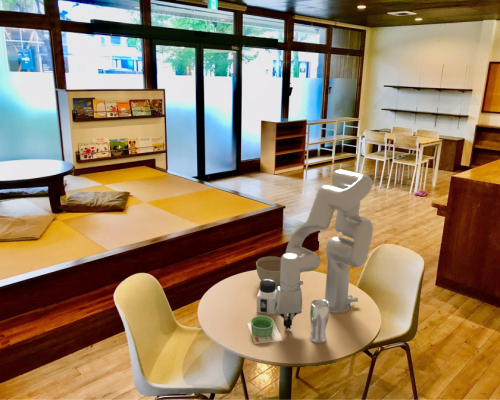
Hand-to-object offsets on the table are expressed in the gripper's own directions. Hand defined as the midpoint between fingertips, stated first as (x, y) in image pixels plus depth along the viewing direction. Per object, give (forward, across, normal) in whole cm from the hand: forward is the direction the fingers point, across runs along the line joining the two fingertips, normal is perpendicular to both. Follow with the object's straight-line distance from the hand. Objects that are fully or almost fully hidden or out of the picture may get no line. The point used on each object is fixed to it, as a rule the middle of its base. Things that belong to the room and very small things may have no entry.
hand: (287, 327), depth 165 cm
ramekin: (+1, +10, 0) cm, 10 cm away
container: (+1, +4, -16) cm, 17 cm away
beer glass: (+1, -10, +8) cm, 13 cm away
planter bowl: (+1, -4, -37) cm, 37 cm away
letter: (+1, +9, 0) cm, 9 cm away
